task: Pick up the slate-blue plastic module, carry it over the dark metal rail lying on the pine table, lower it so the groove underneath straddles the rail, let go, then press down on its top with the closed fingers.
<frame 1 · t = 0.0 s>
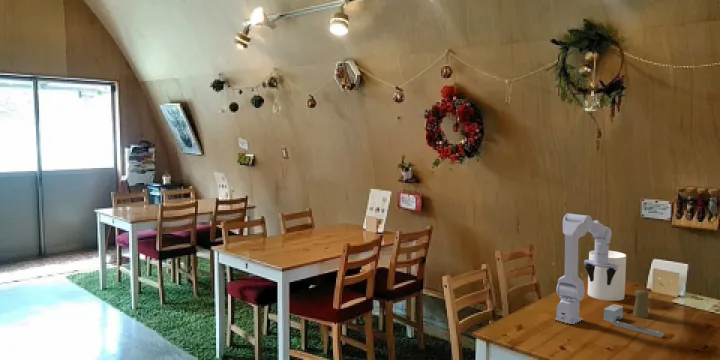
hand: (600, 282, 248), 10 cm above the table, tool pointing down, fingers open, 7 cm apart
cork: (640, 315, 235), on the table
rail: (637, 330, 218), on the table
module: (613, 319, 231), on the table
canister: (605, 295, 263), on the table
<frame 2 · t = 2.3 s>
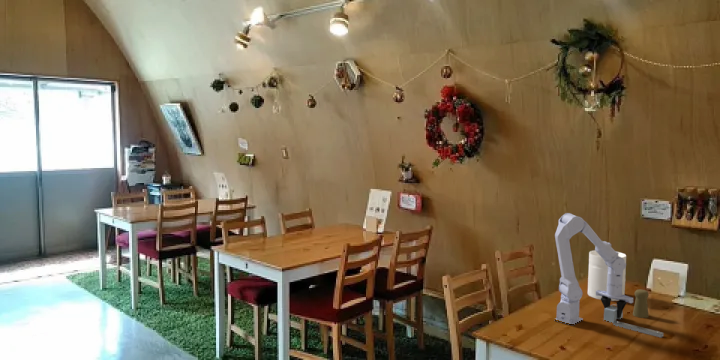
hand: (613, 315, 231), 1 cm above the table, tool pointing down, fingers closed on module, 4 cm apart
module: (613, 319, 231), on the table, touching gripper
everything else where it was.
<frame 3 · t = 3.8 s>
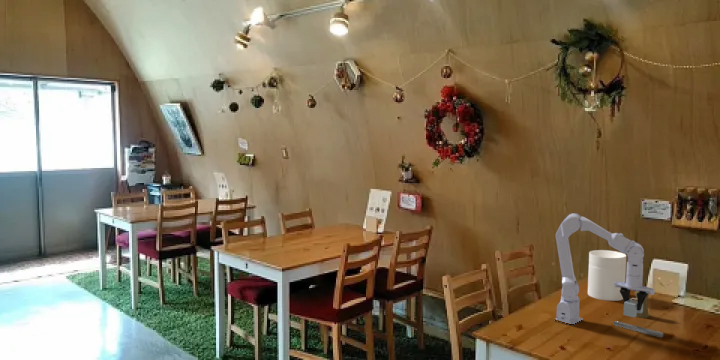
hand: (633, 308, 219), 8 cm above the table, tool pointing down, fingers closed on module, 4 cm apart
module: (633, 313, 219), point 6 cm above the table, touching gripper
everything else where it was.
when the fingers open (2 cm above the table, at t = 5.4 s): module stays where it is, resting in rail.
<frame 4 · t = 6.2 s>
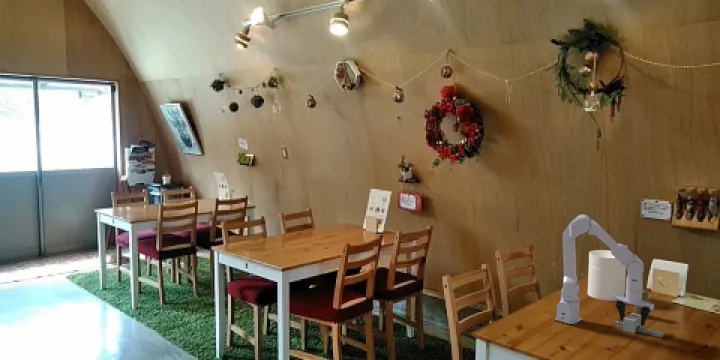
hand: (632, 322, 219), 3 cm above the table, tool pointing down, fingers open, 7 cm apart
module: (632, 329, 220), resting in rail
everything else where it was.
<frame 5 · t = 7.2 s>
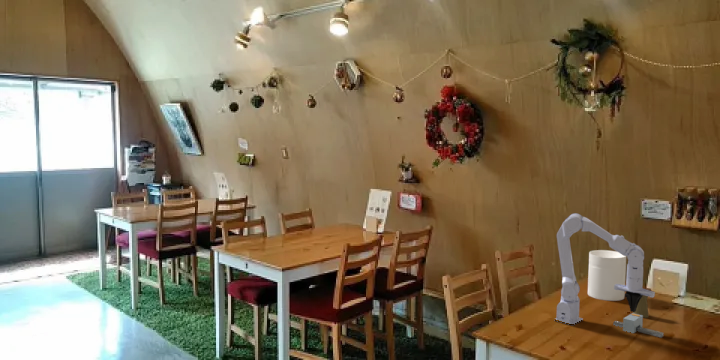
hand: (633, 311, 219), 7 cm above the table, tool pointing down, fingers closed
nothing on the table moved.
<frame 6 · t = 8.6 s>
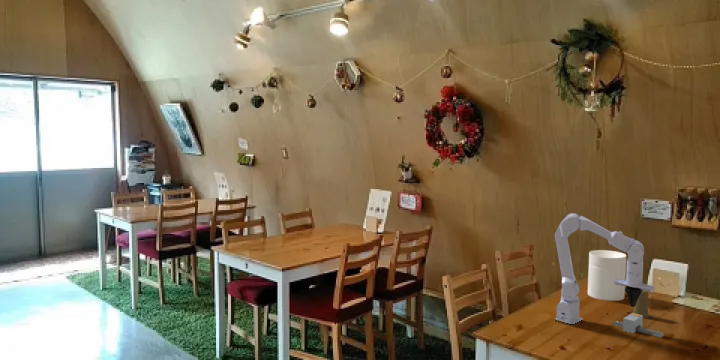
hand: (633, 306, 219), 9 cm above the table, tool pointing down, fingers closed
nothing on the table moved.
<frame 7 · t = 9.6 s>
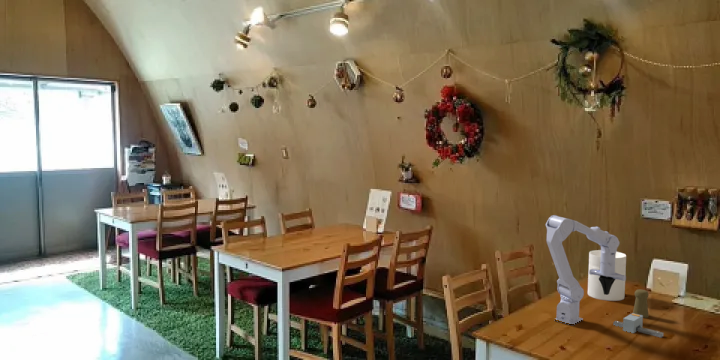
hand: (606, 294, 234), 9 cm above the table, tool pointing down, fingers closed
nothing on the table moved.
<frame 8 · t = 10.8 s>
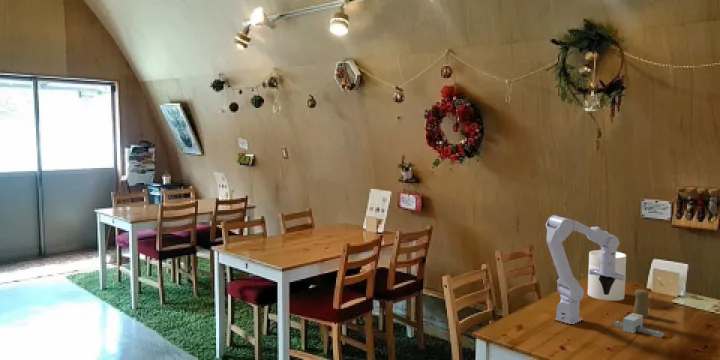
hand: (606, 294, 234), 9 cm above the table, tool pointing down, fingers closed
nothing on the table moved.
at the end: module 0.3 cm from the target spot, resting in rail; module tilted 0° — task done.
